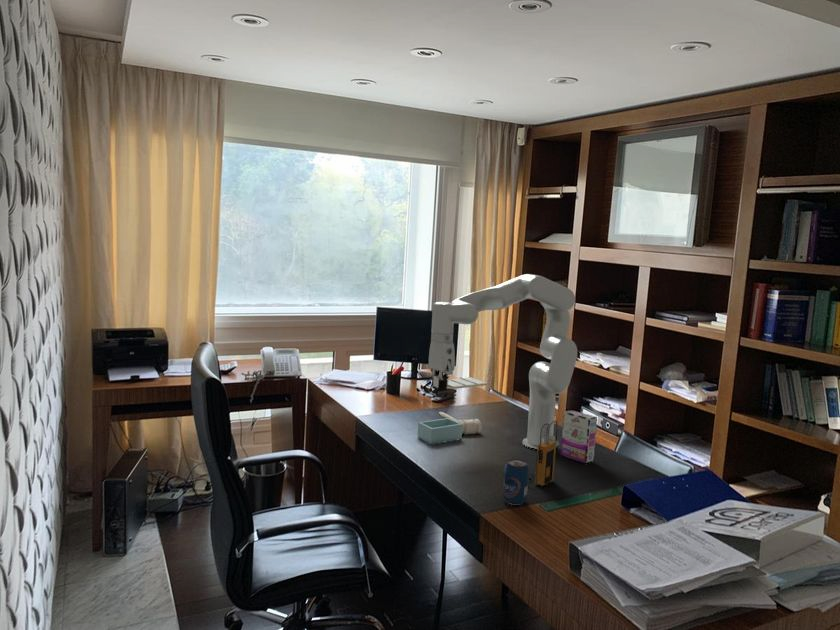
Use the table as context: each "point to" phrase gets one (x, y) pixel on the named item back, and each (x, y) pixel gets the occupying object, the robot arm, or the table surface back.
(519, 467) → the soda can
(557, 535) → the table surface
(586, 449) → the candy bar box
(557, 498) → the table surface
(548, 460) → the multimeter
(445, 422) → the tub
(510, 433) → the table surface
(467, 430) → the gavel
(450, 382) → the lid
